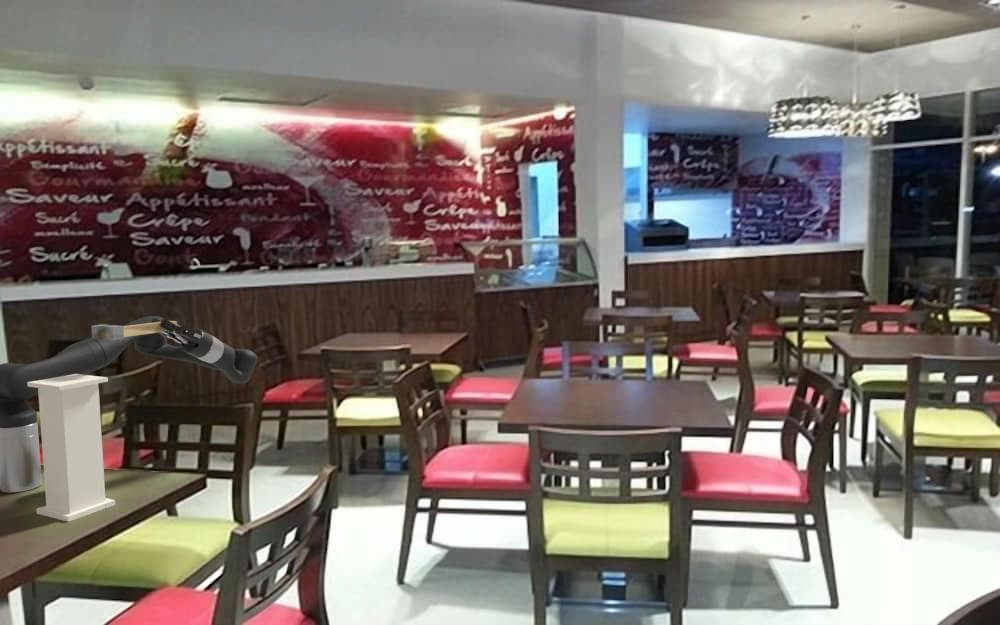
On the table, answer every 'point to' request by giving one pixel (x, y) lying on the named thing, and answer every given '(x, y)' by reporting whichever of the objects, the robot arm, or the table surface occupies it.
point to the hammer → (125, 330)
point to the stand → (71, 446)
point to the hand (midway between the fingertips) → (157, 322)
